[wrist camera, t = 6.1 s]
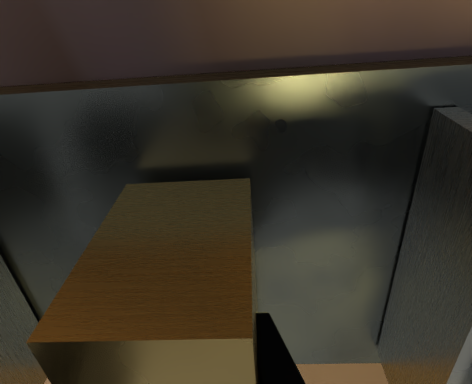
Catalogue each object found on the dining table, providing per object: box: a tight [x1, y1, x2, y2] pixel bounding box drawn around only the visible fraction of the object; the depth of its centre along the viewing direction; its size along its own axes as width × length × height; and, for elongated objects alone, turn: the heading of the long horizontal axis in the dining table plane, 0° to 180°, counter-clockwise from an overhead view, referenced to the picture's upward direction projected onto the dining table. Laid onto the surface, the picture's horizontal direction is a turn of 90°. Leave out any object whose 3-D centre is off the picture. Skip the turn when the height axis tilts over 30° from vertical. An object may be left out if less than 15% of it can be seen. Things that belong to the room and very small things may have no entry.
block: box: [26, 178, 258, 384], centre depth 9 cm, size 4×7×5 cm, turn 4°
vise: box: [0, 56, 472, 384], centre depth 11 cm, size 27×12×5 cm, turn 94°
